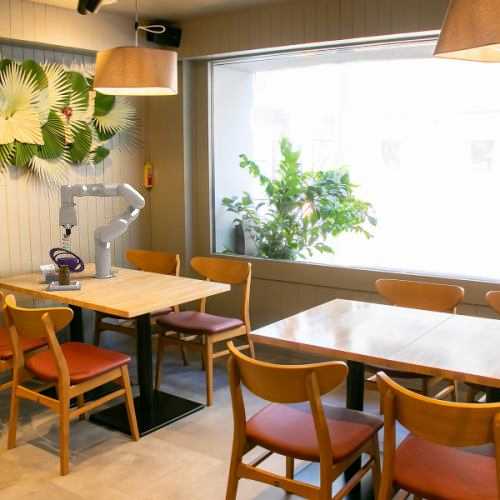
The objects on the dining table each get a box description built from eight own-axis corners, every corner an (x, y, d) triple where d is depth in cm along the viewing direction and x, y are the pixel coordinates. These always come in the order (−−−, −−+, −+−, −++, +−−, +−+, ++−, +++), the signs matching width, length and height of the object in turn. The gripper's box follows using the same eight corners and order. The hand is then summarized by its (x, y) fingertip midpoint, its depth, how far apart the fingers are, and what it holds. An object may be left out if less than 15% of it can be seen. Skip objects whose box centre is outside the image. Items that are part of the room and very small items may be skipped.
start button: (59, 277, 374) (59, 272, 374) (58, 278, 370) (58, 273, 369) (51, 277, 373) (50, 272, 373) (50, 279, 368) (50, 274, 368)
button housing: (64, 280, 378) (64, 272, 377) (63, 283, 368) (62, 275, 367) (47, 280, 376) (46, 272, 375) (45, 284, 366) (45, 275, 365)
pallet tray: (81, 284, 364) (81, 280, 364) (80, 290, 349) (80, 285, 349) (49, 285, 361) (49, 281, 360) (46, 291, 345) (46, 286, 345)
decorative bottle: (68, 275, 395) (66, 236, 391) (43, 272, 403) (41, 234, 400) (91, 270, 415) (90, 233, 411) (66, 267, 423) (65, 231, 420)
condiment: (67, 284, 360) (67, 264, 358) (73, 286, 353) (73, 266, 351) (55, 286, 355) (54, 265, 353) (61, 288, 348) (60, 267, 347)
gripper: (80, 204, 381) (81, 234, 384) (55, 205, 378) (56, 234, 381) (79, 205, 374) (80, 235, 376) (54, 205, 371) (55, 236, 373)
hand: (68, 235), depth 378 cm, fingers closed
